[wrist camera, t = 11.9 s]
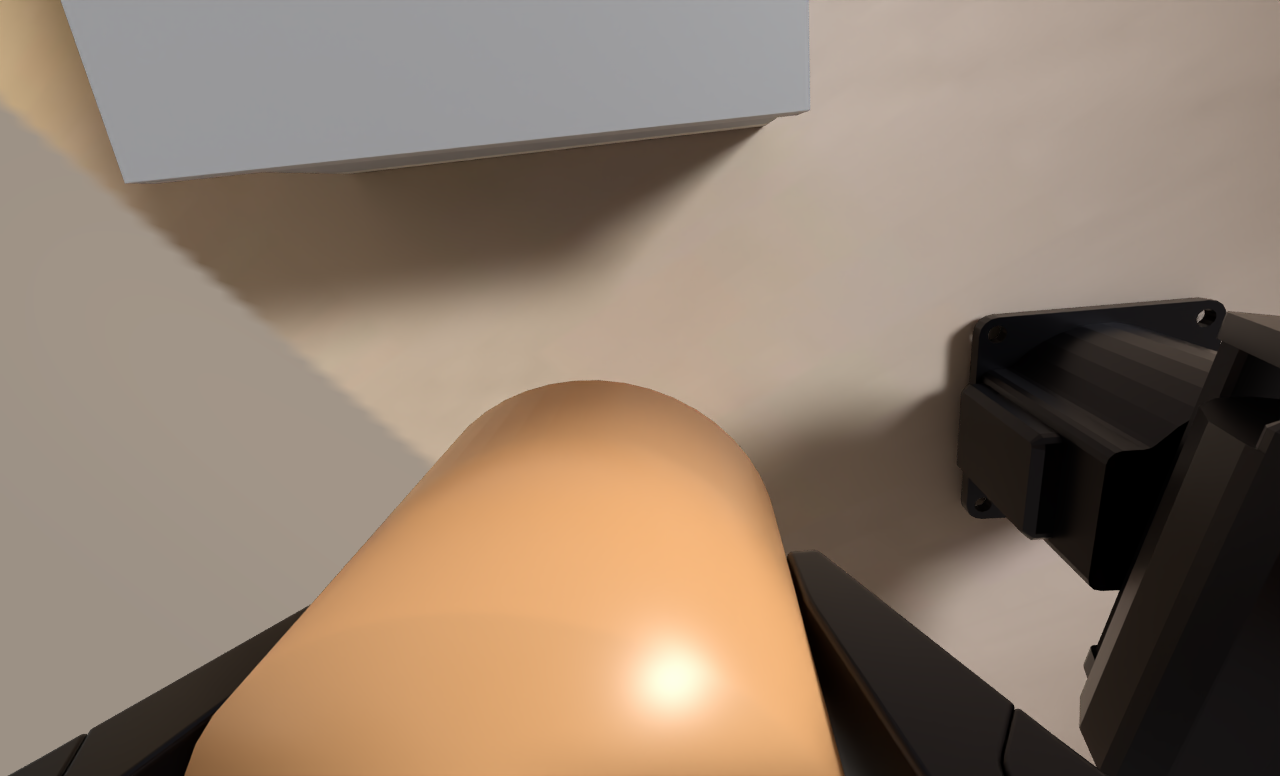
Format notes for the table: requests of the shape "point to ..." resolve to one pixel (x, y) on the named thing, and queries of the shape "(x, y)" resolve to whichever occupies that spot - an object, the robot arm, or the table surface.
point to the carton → (521, 149)
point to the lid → (421, 75)
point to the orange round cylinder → (550, 615)
